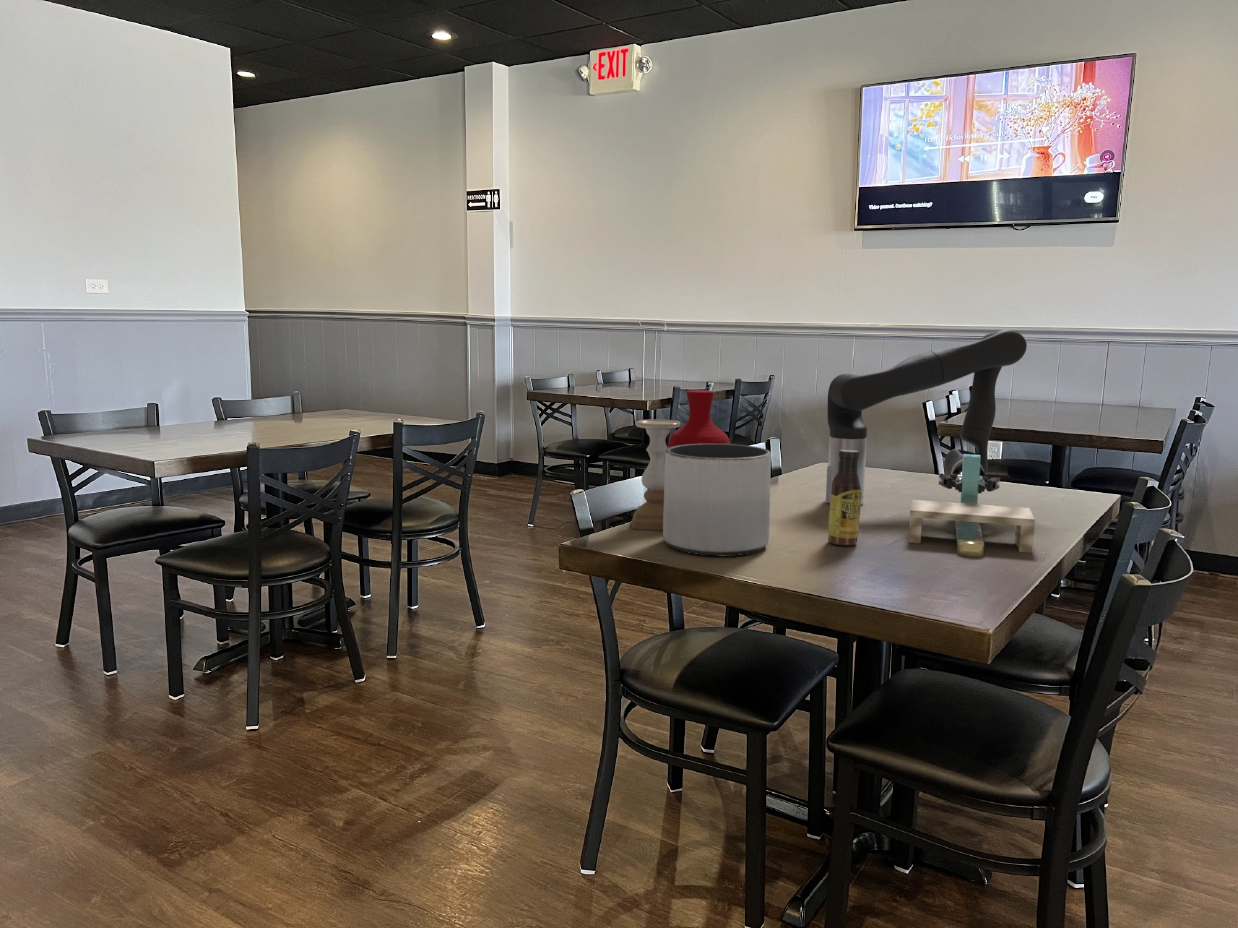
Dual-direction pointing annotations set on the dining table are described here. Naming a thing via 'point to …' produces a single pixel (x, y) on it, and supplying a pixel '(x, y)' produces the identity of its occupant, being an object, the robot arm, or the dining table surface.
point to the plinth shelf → (974, 518)
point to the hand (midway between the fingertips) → (970, 488)
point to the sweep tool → (969, 497)
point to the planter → (717, 498)
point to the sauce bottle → (845, 501)
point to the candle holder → (654, 475)
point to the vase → (699, 422)
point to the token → (970, 547)
